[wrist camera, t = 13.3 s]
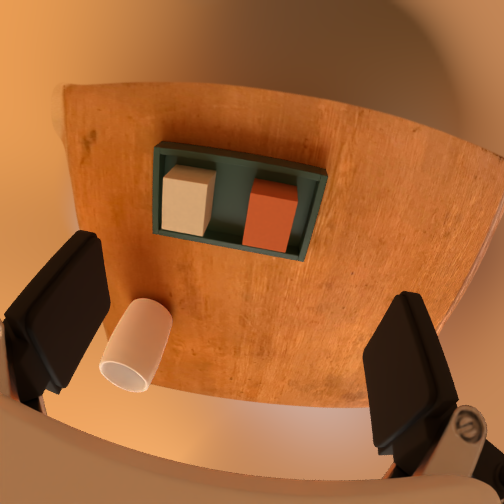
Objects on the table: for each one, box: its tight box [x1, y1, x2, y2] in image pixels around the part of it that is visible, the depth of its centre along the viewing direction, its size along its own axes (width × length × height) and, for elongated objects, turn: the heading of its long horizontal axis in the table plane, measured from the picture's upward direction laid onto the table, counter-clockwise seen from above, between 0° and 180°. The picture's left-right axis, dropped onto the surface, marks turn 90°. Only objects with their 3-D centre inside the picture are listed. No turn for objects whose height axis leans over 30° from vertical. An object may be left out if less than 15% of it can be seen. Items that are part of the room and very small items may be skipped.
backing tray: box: [153, 141, 328, 262], centre depth 37 cm, size 20×12×3 cm, turn 81°
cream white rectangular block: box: [162, 165, 216, 236], centre depth 36 cm, size 5×6×4 cm
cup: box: [99, 298, 172, 392], centre depth 45 cm, size 8×8×14 cm
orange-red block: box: [242, 178, 298, 253], centre depth 36 cm, size 5×6×4 cm
